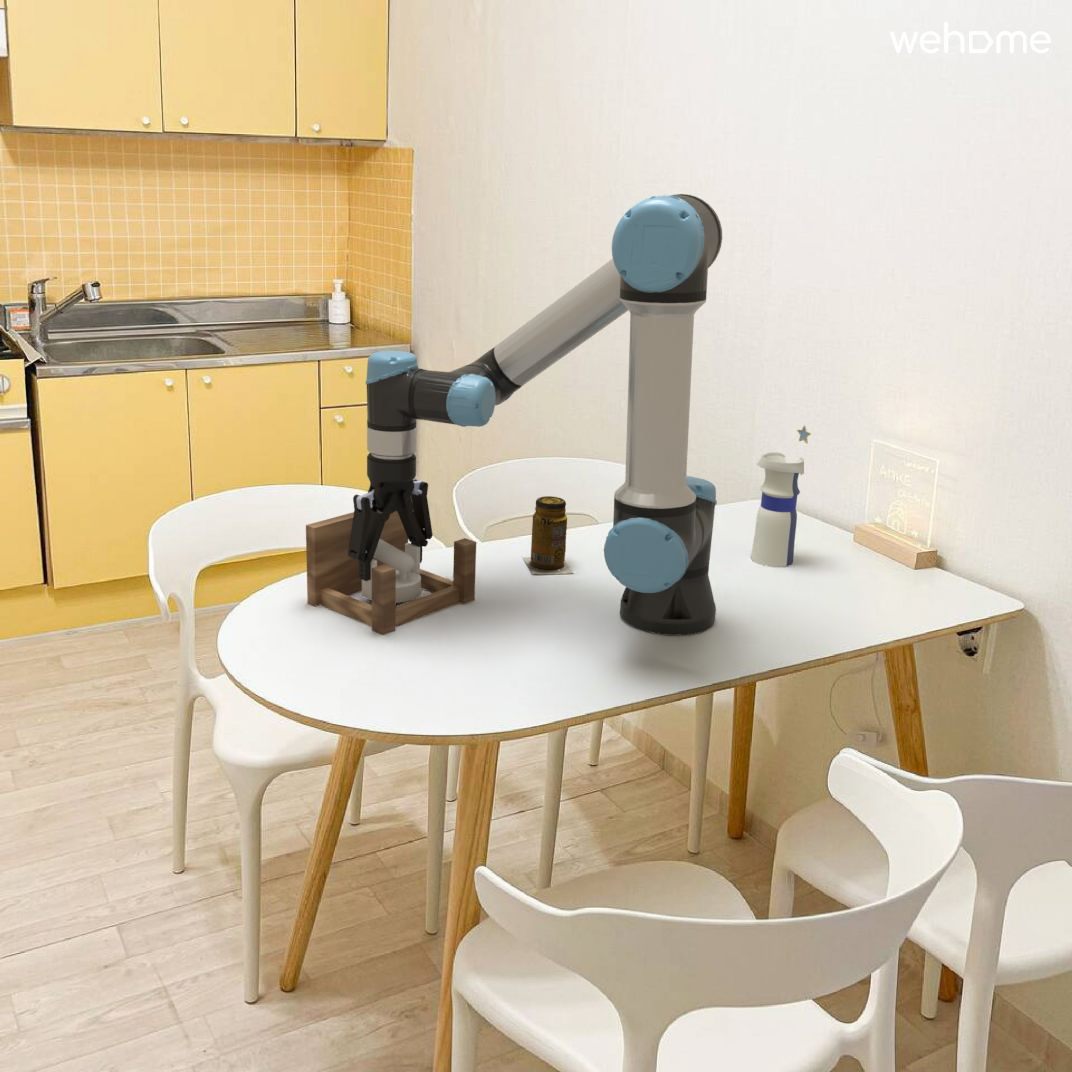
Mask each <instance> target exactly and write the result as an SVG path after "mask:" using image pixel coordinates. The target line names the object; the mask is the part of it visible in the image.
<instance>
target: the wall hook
mask: <svg viewBox="0 0 1072 1072" xmlns="http://www.w3.org/2000/svg"><path fill="white" fill-rule="evenodd" d="M365 553H367V551H366V552H365ZM374 558H376V559H377V560H379V561H381V562H383V563H385V564H386V565H388V566H390V567H393V568H396V603H406V602H409V601H412V600H415V599H417V598H420V597H421V594H422V588H421V576H420V575H419V574H418V573H416V572H414V571H412V569H413V567H414V565H415V563H414V560H413V558H412V557H411V556H410V555H408V554H406V553H404V552H403V551H401V550H399V549H397V548H396V547H394V546H392V545H390V544H388V543H387V542H385V541H383V540H381V539H379V542H378V545H377V548H376V551H375V554H374Z"/></svg>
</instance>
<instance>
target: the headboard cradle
mask: <svg viewBox="0 0 1072 1072" xmlns="http://www.w3.org/2000/svg"><path fill="white" fill-rule="evenodd" d="M377 512H378V513H380V514H382V513H383V512H380V511H378V510H377ZM353 516H354V511H352V512H349V513H346V514H345V513H344V514H342V515H339V516H334V517H330V518H327V519H323V520H319V521H317V522H312V523H308V524H306V525H305V543H306V545H305V546H306V547H305V549H306V550H305V551H306V583H307V584H306V586H307V587H306V589H307V590H306V596H307V597H306V598H307V604H309V605H311V606H314V607H318V606H323V607H325V608H327V609H329V610H332V611H334V612H337V613H339V614H341V615H343V616H347V617H349V618H351V619H354V620H356V621H358V622H360V623H362V624H364V625H368V626H370V627H371V631H373V632H375V633H377V634H379V635H382V636H384V635H387V634H390V633H392V632H395V631H396V628H397V627H398V626H401V625H402V626H403V625H404V624H407V623H410V622H412V621H414V620H417V619H420V618H422V617H425V616H427V615H430V614H433V613H436V612H439V611H441V610H443V609H446V608H449V607H452V606H455V605H456V604H462V605H465V604H468V603H471V602H473V601H475V599H476V568H477V567H476V565H477V564H476V563H477V561H476V559H477V541H476V540H472V539H469V538H465V537H463V538H461V539H459V540H455V541H453V571H452V572H453V573H452V575H453V576H452V577H453V579H449V578H446V577H444V576H441V575H438V574H435V573H432V572H430V571H427V570H424V569H422V568H420V576H421V589H423V590H425V591H429V592H431V593H429V594H426V595H424V596H419V597H417V598H416V599H413V600H410V601H406V602H403V603H402V604H398V605H396V568H393V567H390V566H388V565H386V564H385V563H383V562H381V561H379V560H377V559H376V558H374V557H373V559H374V560H377V567H374V568H372V600H371V604H369V603H366V602H364V601H361V600H359V599H356V598H354V597H352V595H354V594H357V593H360V592H362V579H360V578H359V560H357V559H354V558H351V557H349V556H348V549H349V542H350V536H351V529H352V523H353ZM380 539H381V540H383V541H385V542H387V543H388V544H390V545H392V546H394V547H396V548H397V549H399V550H401V551H403V552H404V553H405V544H406V543H409V539H408V537H407V534H406V532H405V529H404V527H403V524H402V522H401V519H400V517H399V514H398V512H397V511H395V512H394V513H392V514H390V517H389V519H388V520H387V521H386V522H385V524H384V527H383V530H382V533H381V536H380ZM350 595H351V596H350Z"/></svg>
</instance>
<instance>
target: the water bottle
mask: <svg viewBox="0 0 1072 1072" xmlns="http://www.w3.org/2000/svg"><path fill="white" fill-rule="evenodd" d="M796 431H797V433H798V434H799V439H798V442H801V441H803V442H804V443H806V444H809V443H808V437H809V436H811V435H812V433H811V432H809V431H808V429H807V426H806V424H804V425H803V427H802V429H796ZM756 466H758V467H760V468H762V469H764V475H765V477H764V481H763V483H762V485H761V486H760V489H759V490H760V491H761V500H760V506H759V508H758V510H757V513H756V522H755V529H754V536H753V541H752V542H753V543H752V546H751V547H752V548H751V555H750V560H751V561H752V560H753V561H752V562H754V561H755V562H754V563H756V564H758V565H761V564H763V565H762V566H765V565H767V566H766V567H770V566H771V567H772V568H773V567H774V568H782V567H783V568H786V567H789V565H790V566H792V565H793V564H794V553H795V540H796V533H797V531H796V530H797V524H798V523H797V520H798V513H797V502H798V496H799V495H800V494H801V490H800V489H799V486H798V484H799V483H798V480H799V475H800V476H802V475H803V474H805V459H804V458H803V457H802V456H801V457H799V459H798V460H797V462H787V461H786V455H785V454H784V453H782V452H774V451H772V452H767V453H763V454H762V456H761V457H760V459H758V462H757V463H756ZM771 567H770V568H771Z"/></svg>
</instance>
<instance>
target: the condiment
mask: <svg viewBox="0 0 1072 1072" xmlns="http://www.w3.org/2000/svg"><path fill="white" fill-rule="evenodd" d="M566 506H567V503H566V500H565V499H564V498H561V497H559V496H553V495H552V496H551V495H549V496H548V495H547V496H545V495H543V496H541V497H538V498H537V499H536V500H535V507H534V509H535V510H534V511H535V512H534V513H533V515H532V526H531V527H532V528H531V543H530V544H531V547H530V557H529V556H526V557H522V559H523V561H524V563H525V564H526V566H527V567H528V568H529V571H530V572H531V574H532V575H567V574H574V572H573V570H572V568H571V567H570V566H569V565H568V562H566V560H565V559H566V551H567V550H566V549H567V546H566V544H567V529H568V527H567V526H568V525H567V524H568V516H567V514H566V509H567V508H566Z"/></svg>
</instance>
